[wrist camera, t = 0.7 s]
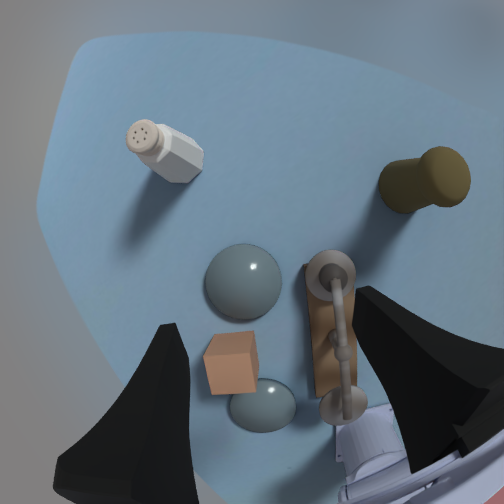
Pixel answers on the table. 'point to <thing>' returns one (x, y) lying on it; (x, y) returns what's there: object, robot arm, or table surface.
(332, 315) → the balance
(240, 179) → the table surface
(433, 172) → the cork
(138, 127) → the salt shaker
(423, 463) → the robot arm
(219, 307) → the grey dome
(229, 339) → the block
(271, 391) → the smooth grey pebble
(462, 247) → the table surface
